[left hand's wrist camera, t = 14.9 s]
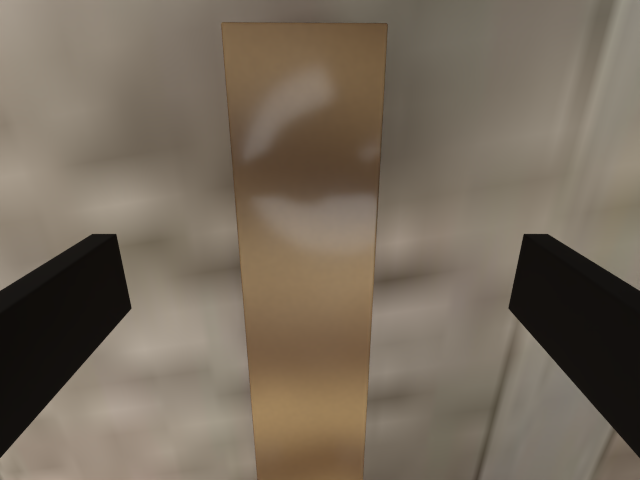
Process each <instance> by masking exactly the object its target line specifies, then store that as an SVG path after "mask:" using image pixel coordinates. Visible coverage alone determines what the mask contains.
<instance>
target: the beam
mask: <svg viewBox="0 0 640 480" xmlns="http://www.w3.org/2000/svg"><path fill="white" fill-rule="evenodd" d="M221 28H222V40H223V53H224V65H225V78H226V90H227V103H228V116H229V128H230V141H231V153H232V166H233V178H234V191H235V203H236V216H237V229H238V241H239V254H240V266H241V279H242V291H243V304H244V316H245V329H246V342H247V354H248V367H249V379H250V392H251V404H252V417H253V430H254V442H255V455H256V467H257V480H363V468H364V450H365V432H366V413H367V395H368V377H369V359H370V340H371V322H372V304H373V286H374V267H375V249H376V231H377V212H378V194H379V176H380V158H381V139H382V121H383V103H384V84H385V66H386V48H387V30H388V25H387V23H255V22H222V23H221Z"/></svg>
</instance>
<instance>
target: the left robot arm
mask: <svg viewBox="0 0 640 480" xmlns="http://www.w3.org/2000/svg"><path fill="white" fill-rule="evenodd" d="M130 310H131V303H130V298H129V294H128V289H127V284H126V279H125V274H124V269H123V265H122V260H121V255H120V250H119V245H118V240H117V236H116V234H92V235H90V236H88V237H87V238H85V239H84V240H82V241H80V242H79V243H77V244H75V245H74V246H72V247H71V248H69V249H67V250H66V251H64V252H63V253H61V254H59V255H58V256H56V257H54V258H53V259H51V260H50V261H48V262H46V263H45V264H43V265H41V266H40V267H38V268H37V269H35V270H33V271H32V272H30V273H28V274H27V275H25V276H24V277H22V278H20V279H19V280H17V281H16V282H14V283H12V284H11V285H9V286H7V287H6V288H4V289H3V290H1V291H0V458H1V457H2V455H3V454H4V453H5V452H6V451H7V450H8V449H9V447H10V446H11V445H12V444H13V443H14V442H15V441H16V439H17V438H18V437H19V436H20V435H21V434H22V433H23V431H24V430H25V429H26V428H27V427H28V426H29V425H30V424H31V422H32V421H33V420H34V419H35V418H36V417H37V416H38V414H39V413H40V412H41V411H42V410H43V409H44V408H45V406H46V405H47V404H48V403H49V402H50V401H51V400H52V398H53V397H54V396H55V395H56V394H57V393H58V392H59V390H60V389H61V388H62V387H63V386H64V385H65V384H66V382H67V381H68V380H69V379H70V378H71V377H72V376H73V375H74V373H75V372H76V371H77V370H78V369H79V368H80V367H81V365H82V364H83V363H84V362H85V361H86V360H87V359H88V357H89V356H90V355H91V354H92V353H93V352H94V351H95V349H96V348H97V347H98V346H99V345H100V344H101V343H102V341H103V340H104V339H105V338H106V337H107V336H108V335H109V333H110V332H111V331H112V330H113V329H114V328H115V327H116V326H117V324H118V323H119V322H120V321H121V320H122V319H123V318H124V316H125V315H126V314H127V313H128V312H129V311H130ZM509 310H510V311H511V312H512V313H513V314H514V315H515V316H516V318H517V319H518V320H519V321H520V322H521V323H522V324H523V326H524V327H525V328H526V329H527V330H528V331H529V332H530V333H531V335H532V336H533V337H534V338H535V339H536V340H537V341H538V343H539V344H540V345H541V346H542V347H543V348H544V349H545V351H546V352H547V353H548V354H549V355H550V356H551V357H552V359H553V360H554V361H555V362H556V363H557V364H558V365H559V367H560V368H561V369H562V370H563V371H564V372H565V373H566V375H567V376H568V377H569V378H570V379H571V380H572V381H573V382H574V384H575V385H576V386H577V387H578V388H579V389H580V390H581V392H582V393H583V394H584V395H585V396H586V397H587V398H588V400H589V401H590V402H591V403H592V404H593V405H594V406H595V408H596V409H597V410H598V411H599V412H600V413H601V414H602V416H603V417H604V418H605V419H606V420H607V421H608V422H609V424H610V425H611V426H612V427H613V428H614V429H615V430H616V431H617V433H618V434H619V435H620V436H621V437H622V438H623V439H624V441H625V442H626V443H627V444H628V445H629V446H630V447H631V449H632V450H633V451H634V452H635V453H636V454H637V455H638V457H639V458H640V291H639V290H637V289H636V288H634V287H633V286H631V285H629V284H628V283H626V282H624V281H623V280H621V279H620V278H618V277H616V276H615V275H613V274H612V273H610V272H608V271H607V270H605V269H603V268H602V267H600V266H599V265H597V264H595V263H594V262H592V261H590V260H589V259H587V258H586V257H584V256H582V255H581V254H579V253H577V252H576V251H574V250H573V249H571V248H569V247H568V246H566V245H565V244H563V243H561V242H560V241H558V240H556V239H555V238H553V237H552V236H550V235H548V234H524V236H523V240H522V245H521V250H520V255H519V260H518V265H517V269H516V274H515V279H514V284H513V289H512V294H511V298H510V303H509Z"/></svg>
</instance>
